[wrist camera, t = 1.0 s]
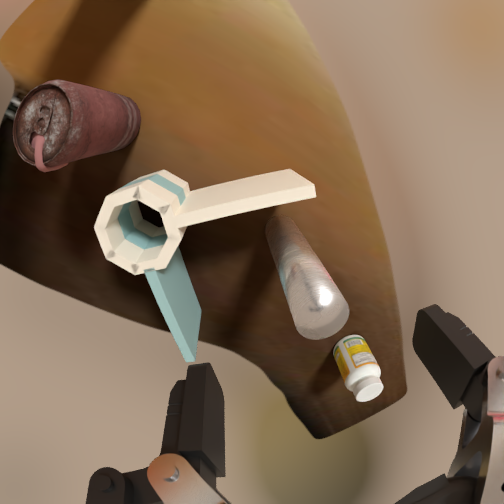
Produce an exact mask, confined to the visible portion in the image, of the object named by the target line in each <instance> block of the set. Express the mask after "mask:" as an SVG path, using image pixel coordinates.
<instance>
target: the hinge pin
mask: <svg viewBox="0 0 504 504" xmlns="http://www.w3.org/2000/svg"><path fill="white" fill-rule="evenodd" d="M265 235H266V238H267V241H268V244H269V247H270V250H271V253H272V256H273V259H274V262H275V265H276V268H277V271H278V274H279V277H280V280H281V283H282V286H283V289H284V292H285V295H286V298H287V301H288V304H289V307H290V310H291V313H292V316H293V320H294V323H295V326H296V329H297V331H298V332H299V333H300V334H301V335H302V336H304V337H306V338H309V339H323V338H327V337H329V336H331V335H333V334H335V333H336V332H338V331H339V330H340V329H341V328H342V327H343V326H344V324H345V323H346V321H347V319H348V316H349V307H348V304H347V302H346V301H345V299H344V297H343V296H342V294H341V293H340V291H339V289H338V288H337V286H336V285H335V283H334V282H333V280H332V278H331V277H330V275H329V274H328V272H327V271H326V269H325V268H324V266H323V264H322V263H321V261H320V260H319V258H318V257H317V255H316V254H315V252H314V251H313V249H312V248H311V246H310V245H309V243H308V242H307V240H306V239H305V237H304V236H303V234H302V233H301V231H300V230H299V229H298V227H297V226H296V224H295V223H294V221H293V220H292V219H291V218H290V217H288V216H286V215H277V216H274V217H272V218H271V219H270V220H269V221H268V222H267V224H266V226H265Z"/></svg>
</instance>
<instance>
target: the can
mask: <svg viewBox="0 0 504 504" xmlns="http://www.w3.org/2000/svg"><path fill="white" fill-rule="evenodd" d="M140 123H141V116H140V110H139V109H138V107H137V105H136V103H135V102H134V101H133V100H131V99H130V98H128V97H125V96H123V95H119V94H116V93H112V92H109V91H105V90H101V89H98V88H94V87H90V86H86V85H82V84H77V83H73V82H68V81H64V80H59V79H58V80H51V81H47V82H45V83H44V84H42V85H39V86H38V87H36V88H34V89H32V90H31V91H30V92H29V93H28V94H27V95H26V96H25V97H24V99H23V100H22V102H21V104H20V106H19V107H18V109H17V112H16V115H15V119H14V124H13V139H14V145H15V148H16V150H17V152H18V154H19V156H20V157H21V158H22V159H23V160H24V161H25V162H27V163H29V164H31V165H34V166H36V167H37V168H38V169H39V170H40V171H43V172H48V171H53V170H58V169H60V168H62V167H64V166H66V165H68V162H72V161H76V160H79V159H83V158H87V157H91V156H95V155H99V154H104V153H108V152H113V151H117V150H120V149H123V148H125V147H126V146H127V145H129V144H130V143H131V142H132V141H133V140H134V138H135V137H136V135H137V133H138V131H139V129H140Z"/></svg>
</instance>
